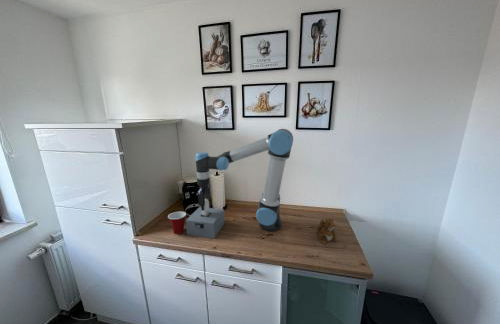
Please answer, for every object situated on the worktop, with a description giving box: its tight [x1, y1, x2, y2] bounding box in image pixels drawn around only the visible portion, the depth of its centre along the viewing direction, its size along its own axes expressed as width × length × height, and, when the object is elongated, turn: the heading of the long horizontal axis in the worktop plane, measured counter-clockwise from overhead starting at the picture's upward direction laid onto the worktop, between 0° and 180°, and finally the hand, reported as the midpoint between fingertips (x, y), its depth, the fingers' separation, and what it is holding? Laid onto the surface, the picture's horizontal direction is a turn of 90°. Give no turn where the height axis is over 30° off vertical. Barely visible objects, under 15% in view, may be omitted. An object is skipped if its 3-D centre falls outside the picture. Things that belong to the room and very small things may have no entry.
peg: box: [202, 199, 210, 217], centre depth 127 cm, size 4×4×11 cm
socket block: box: [185, 206, 226, 239], centre depth 129 cm, size 18×18×10 cm
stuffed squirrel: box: [316, 217, 338, 245], centre depth 119 cm, size 10×14×13 cm
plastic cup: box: [167, 211, 187, 235], centre depth 126 cm, size 11×11×12 cm
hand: (205, 212), depth 128 cm, fingers closed on peg, 4 cm apart
